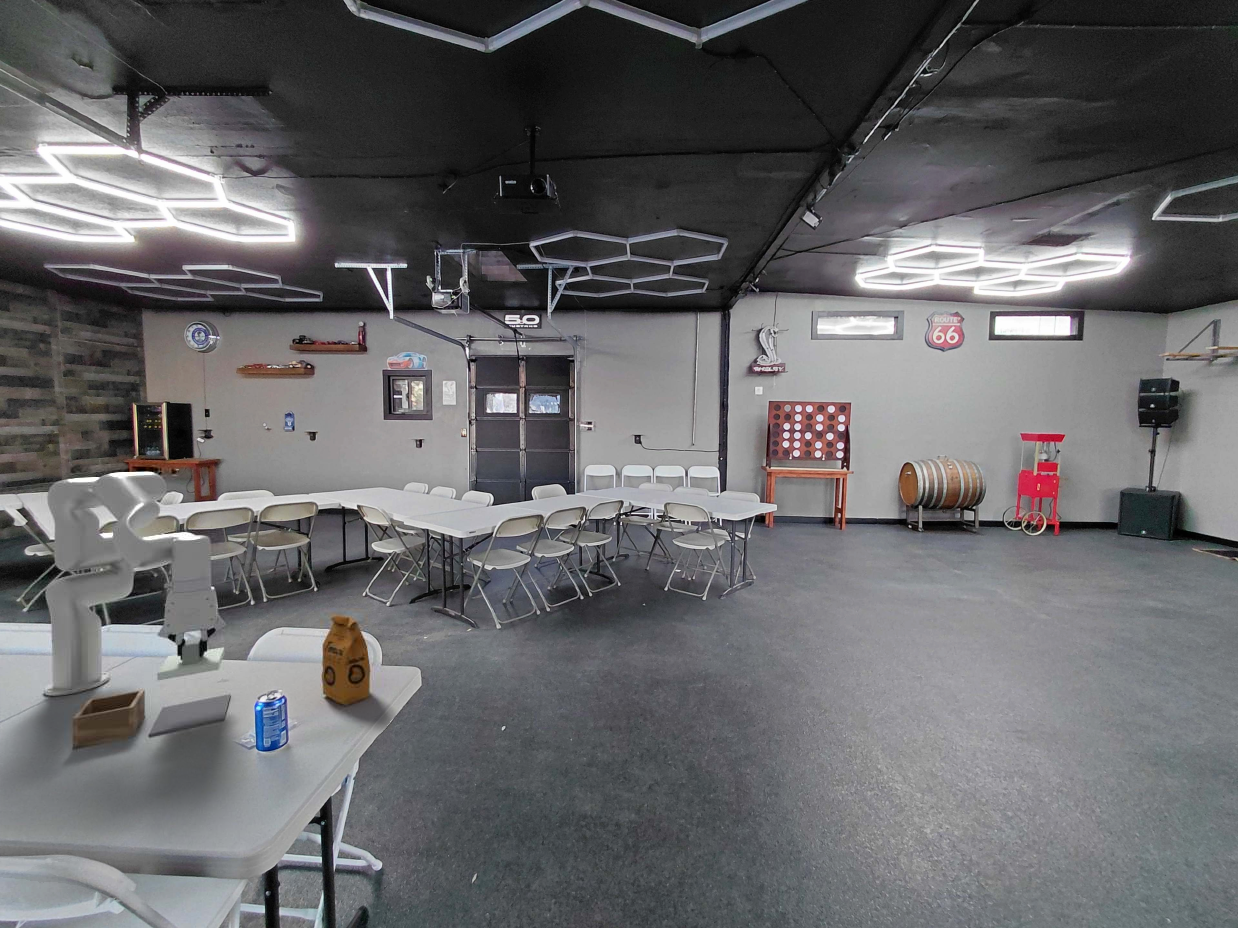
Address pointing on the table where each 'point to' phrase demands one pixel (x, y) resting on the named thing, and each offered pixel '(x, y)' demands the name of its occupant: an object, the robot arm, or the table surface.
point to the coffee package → (345, 662)
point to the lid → (191, 661)
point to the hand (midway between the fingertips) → (192, 655)
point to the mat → (190, 714)
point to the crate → (108, 718)
